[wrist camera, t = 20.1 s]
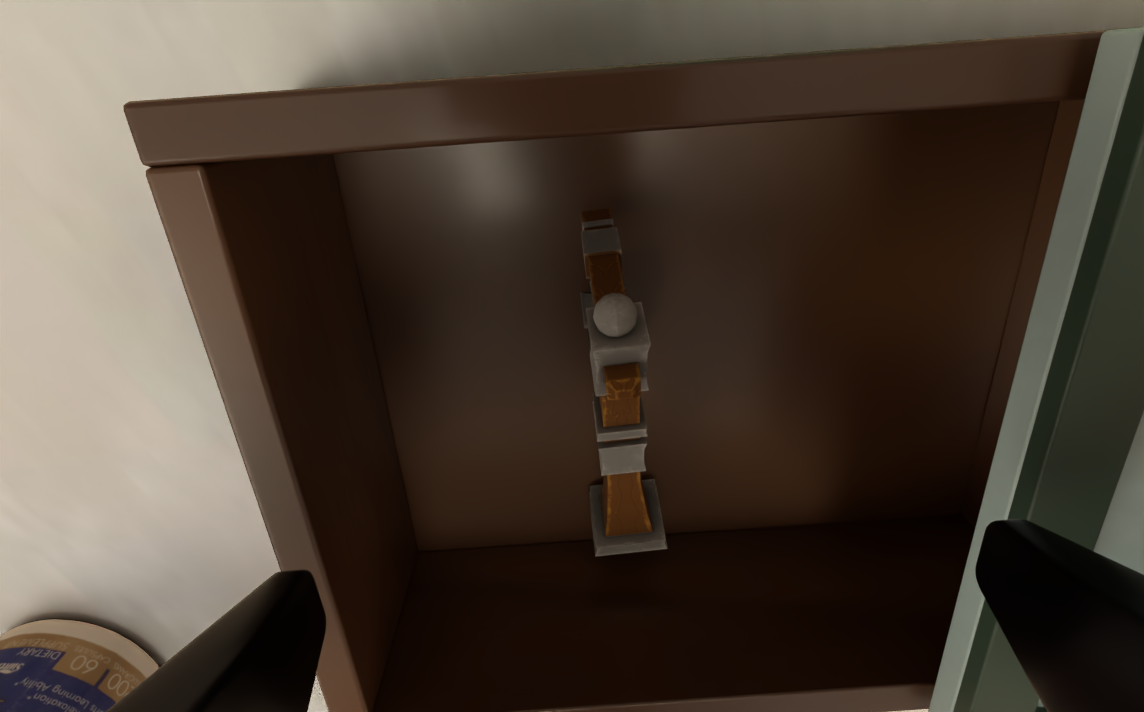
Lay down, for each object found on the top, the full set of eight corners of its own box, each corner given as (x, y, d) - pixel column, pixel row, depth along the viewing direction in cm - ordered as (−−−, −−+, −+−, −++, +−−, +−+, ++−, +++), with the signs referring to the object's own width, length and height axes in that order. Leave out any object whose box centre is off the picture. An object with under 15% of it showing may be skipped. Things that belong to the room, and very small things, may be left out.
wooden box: (969, 520, 18) (1133, 696, 13) (400, 560, 18) (340, 751, 13) (1090, 33, 13) (1447, 4, 8) (290, 91, 13) (117, 101, 8)
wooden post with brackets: (639, 165, 12) (681, 331, 9) (642, 408, 18) (669, 557, 15) (547, 176, 12) (560, 345, 9) (581, 415, 18) (595, 564, 15)
